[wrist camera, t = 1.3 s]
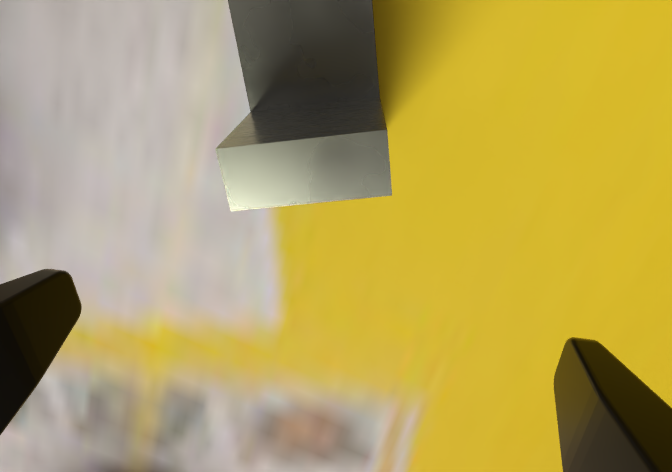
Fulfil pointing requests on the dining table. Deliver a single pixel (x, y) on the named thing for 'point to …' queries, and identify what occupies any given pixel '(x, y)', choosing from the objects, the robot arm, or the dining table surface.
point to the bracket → (306, 106)
